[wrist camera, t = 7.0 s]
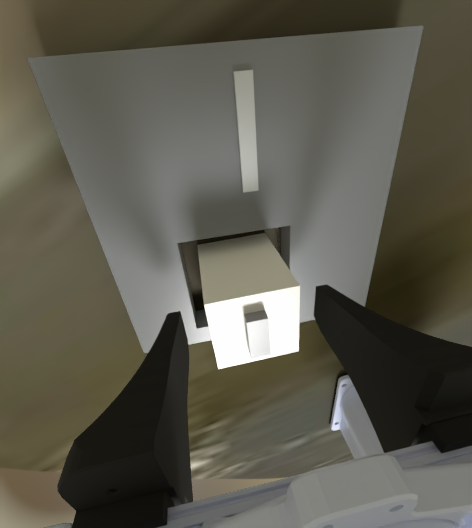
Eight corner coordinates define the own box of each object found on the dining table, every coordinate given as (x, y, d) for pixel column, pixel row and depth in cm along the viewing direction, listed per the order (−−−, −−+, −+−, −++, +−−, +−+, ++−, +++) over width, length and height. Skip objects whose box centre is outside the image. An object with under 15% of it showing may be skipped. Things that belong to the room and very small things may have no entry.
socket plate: (350, 295, 21) (365, 311, 20) (147, 334, 20) (143, 355, 18) (395, 34, 13) (427, 24, 11) (48, 64, 11) (24, 56, 10)
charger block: (268, 287, 19) (303, 360, 14) (208, 299, 19) (219, 378, 13) (264, 232, 17) (305, 293, 12) (197, 244, 17) (204, 313, 11)
